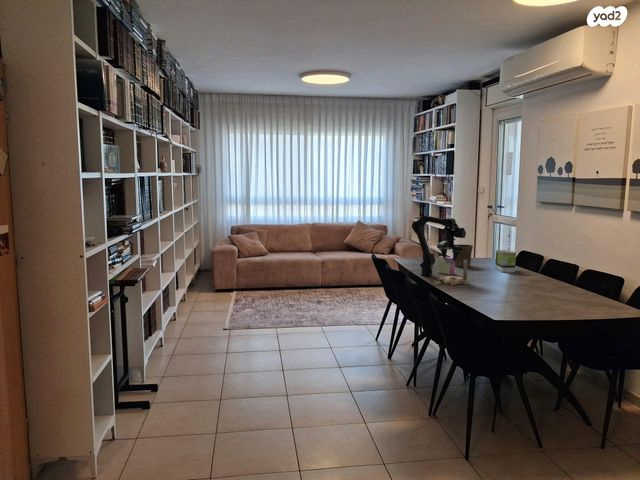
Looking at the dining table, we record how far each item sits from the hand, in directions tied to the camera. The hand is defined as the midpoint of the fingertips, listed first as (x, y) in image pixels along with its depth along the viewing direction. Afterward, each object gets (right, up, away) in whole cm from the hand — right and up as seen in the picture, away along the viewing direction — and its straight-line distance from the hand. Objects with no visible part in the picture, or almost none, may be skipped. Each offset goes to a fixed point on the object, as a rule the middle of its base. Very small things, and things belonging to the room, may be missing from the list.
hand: (449, 259), depth 333 cm
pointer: (-11, -15, -15) cm, 24 cm away
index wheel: (0, -14, -9) cm, 17 cm away
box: (+3, -11, +21) cm, 24 cm away
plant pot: (+23, -7, +50) cm, 56 cm away
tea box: (+49, -9, +30) cm, 58 cm away
